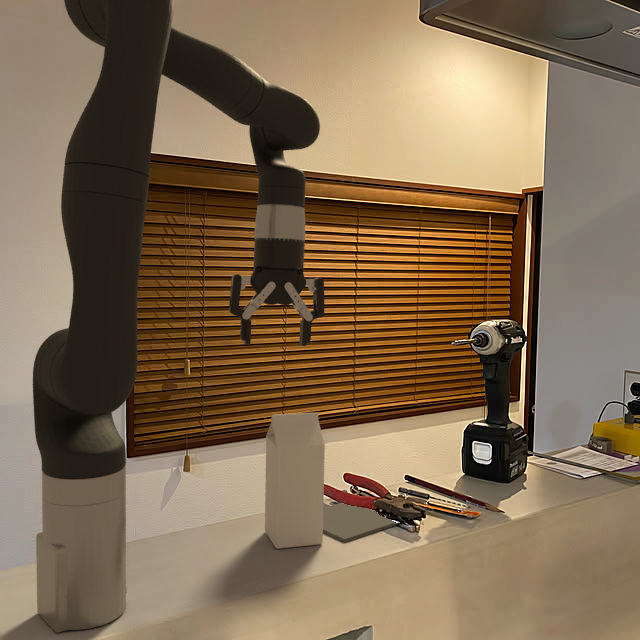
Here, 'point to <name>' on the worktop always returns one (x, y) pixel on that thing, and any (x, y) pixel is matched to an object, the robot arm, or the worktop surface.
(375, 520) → the mat
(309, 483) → the milk carton
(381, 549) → the worktop surface
